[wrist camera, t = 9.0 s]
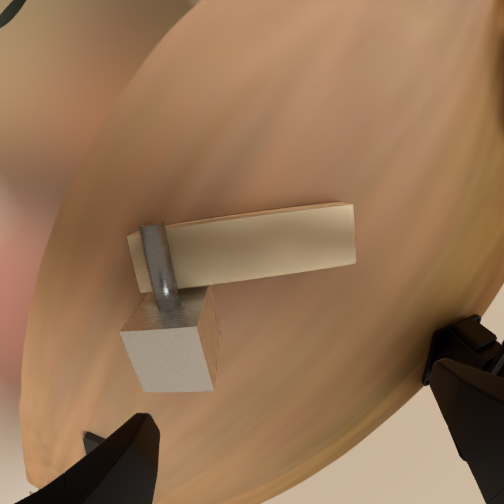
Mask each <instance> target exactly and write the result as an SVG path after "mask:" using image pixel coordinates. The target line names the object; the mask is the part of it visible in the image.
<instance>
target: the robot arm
mask: <svg viewBox="0 0 504 504" xmlns="http://www.w3.org/2000/svg"><path fill="white" fill-rule="evenodd" d="M480 321H481V317H480V316H479V315H475V316H473V317H471V318H468V319H466V320H463V321H461V322H458V323H456V324H453V325H451V326H448V327H445V328H443V329H440V330H437V331H436V332H435V333H434V335H433V339H432V344H431V348H430V353H429V357H428V361H427V365H426V369H425V373H424V376H423V380H422V384H423V385H424V386H427V385H430V387H431V390H432V392H433V394H434V396H435V399H436V401H437V403H438V406H439V408H440V410H441V413H442V415H443V417H444V419H445V421H446V423H447V425H448V428H449V431H450V433H451V436H452V438H453V441H454V443H455V446H456V448H457V451H458V453H459V456H460V457H461V458H462V460H464V461H466V462H467V463H468V465H469V467H470V469H471V472H472V474H473V476H474V478H475V480H476V482H477V484H478V486H479V489H480V491H481V493H482V495H483V498H484V500H485V503H487V504H504V341H503V343H502V345H501V344H500V343H499V342H497V341H496V340H497V337H496V335H495V334H493V333H492V332H491V331H489V330H488V329H487V328H485V327H484V326H483V325H481V324H480ZM159 442H160V431H159V429H158V427H157V425H156V423H155V422H154V420H153V418H152V416H151V415H150V414H149V413H136V414H135V415H134V416H132V417H131V418H130V419H129V420H128V421H127V422H125V423H124V424H123V425H122V426H121V427H120V428H118V429H117V430H116V431H115V432H114V433H112V434H111V435H110V436H109V437H108V438H107V439H105V440H104V441H103V442H102V443H101V444H99V445H98V446H97V447H96V448H94V449H93V450H92V451H91V452H90V453H88V454H87V455H86V456H85V457H83V458H82V459H81V460H80V461H78V462H77V463H76V464H75V465H73V466H72V467H71V468H69V469H68V470H67V471H66V472H65V473H63V474H62V475H60V476H59V477H58V478H56V479H55V480H54V481H52V482H51V483H49V484H48V485H47V486H45V487H43V488H42V489H40V490H38V491H37V492H35V493H33V494H31V495H30V496H28V497H26V498H24V499H22V500H20V501H19V502H17V503H15V504H152V501H153V495H154V490H155V484H156V479H157V471H158V456H159Z"/></svg>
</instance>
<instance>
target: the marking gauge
mask: <svg viewBox="0 0 504 504" xmlns="http://www.w3.org/2000/svg"><path fill="white" fill-rule="evenodd" d="M139 232H140V237H141V242H142V247H143V252H144V256H145V261H146V265H147V270H148V274H149V278H150V282H151V286H152V290H153V292H149V293H148V294H147V296H146V297H145V298H144V299H143V301H142V302H141V303H140V305H139V306H138V307H137V309H136V310H135V311H134V313H133V314H132V315H131V317H130V318H129V319H128V321H127V322H126V323H125V325H124V326H123V327H122V329H121V330H120V335H121V337H122V340H123V343H124V345H125V348H126V351H127V353H128V356H129V358H130V361H131V363H132V365H133V368H134V370H135V372H136V375H137V377H138V379H139V382H140V384H141V386H142V388H143V390H144V392H198V391H214V387H215V378H216V370H217V361H218V352H219V344H220V336H221V332H220V327H219V323H218V318H217V313H216V308H215V303H214V298H213V293H212V288H211V285H205V286H197V287H189V288H180V289H178V286H177V281H176V277H175V272H174V268H173V263H172V258H171V253H170V248H169V243H168V238H167V233H166V227H165V222H164V221H162V222H155V223H150V224H146V225H142V226H140V227H139Z"/></svg>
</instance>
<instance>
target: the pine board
mask: <svg viewBox="0 0 504 504" xmlns="http://www.w3.org/2000/svg"><path fill="white" fill-rule="evenodd" d="M165 227H166V233H167V238H168V243H169V248H170V253H171V258H172V263H173V268H174V272H175V277H176V281H177V286H178V289H180V288H189V287H197V286H205V285H213V284H221V283H228V282H236V281H243V280H251V279H258V278H265V277H272V276H279V275H286V274H292V273H299V272H306V271H312V270H319V269H325V268H331V267H338V266H344V265H350V264H356V249H355V227H354V211H353V204H349V203H345V202H333V203H324V204H315V205H306V206H297V207H289V208H281V209H273V210H265V211H258V212H251V213H243V214H236V215H229V216H223V217H216V218H209V219H203V220H196V221H190V222H184V223H178V224H172V225H166V226H165ZM127 241H128V245H129V250H130V254H131V258H132V263H133V267H134V271H135V275H136V279H137V283H138V286H139V290H140V293H145V292H153V290H152V286H151V282H150V278H149V274H148V270H147V265H146V261H145V256H144V252H143V247H142V242H141V237H140V232H139V230H138V231H136V232H134V233H132V234H131V235H129V236H127Z"/></svg>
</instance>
